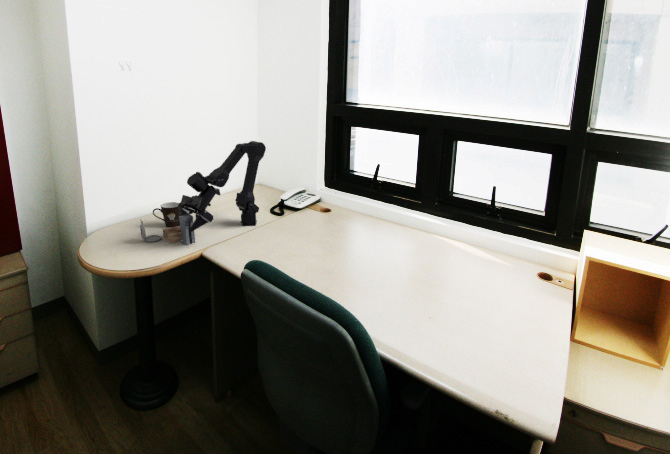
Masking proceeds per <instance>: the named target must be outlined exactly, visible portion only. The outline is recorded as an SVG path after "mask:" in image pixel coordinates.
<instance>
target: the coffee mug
mask: <svg viewBox="0 0 670 454" xmlns="http://www.w3.org/2000/svg"><path fill="white" fill-rule="evenodd" d="M179 203H180V202H176V201H170V202H169V201H168V202H165V203H162V204H160V208H154V209H153V210H152V215H154V217H155V218H157V219H159V220H161V221H163V222H164V226H165V228H171V227H177V226H178V225H177V224H178V221H179V216H180V210H179V208H180V207H178V204H179ZM157 210H158V211H160V212H161V214H162V217H163V218H162V217H159V216H158V215H156V214H155V211H157Z"/></svg>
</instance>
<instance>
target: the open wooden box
mask: <svg viewBox="0 0 670 454" xmlns="http://www.w3.org/2000/svg"><path fill="white" fill-rule="evenodd" d="M162 236H163V238H164V239H165V240H166V242H168V243H169V244H172V243H177V241H178V242H182V241H181V231H180V226H177V227H171V228H170V227H165V228H162Z"/></svg>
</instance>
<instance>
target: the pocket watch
mask: <svg viewBox="0 0 670 454" xmlns="http://www.w3.org/2000/svg"><path fill="white" fill-rule="evenodd" d="M139 219H140V218H139ZM139 225H140V226H139V228H140V235H141V239H142V240H144V241H145V242H147V243H153V242H157V241H160V240H161V238H162V237H161V235H159V234H151V235H147V234H146V230H145V229H146V228H145V225H144V221H142V219H140V224H139Z"/></svg>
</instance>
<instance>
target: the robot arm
mask: <svg viewBox="0 0 670 454" xmlns="http://www.w3.org/2000/svg"><path fill="white" fill-rule="evenodd" d="M266 149H267V148H266V145H265V144H264V143H263V142H260V141H256V140H250V141H249V142H243V143H237V144H236V145H235V147H234V149H233V150H232V151H231V152H230V154H229V155H228V156H227V157H226V158H225V160H223V162H222V164H221V165H220V166H218V167H217V168H215V169H213V170H212V171H211V172H210V173H209V174H208V175H206V176H203V173H201V172H200V171H196V172H195V173H193V174H191V175H190V176H189V177H188V178H187V180H186V183H187V185H188V186H190V187H191V189H193V190H194V191H196V192H197V193H199V194H198V195H197V194H196V195H192V196H189V195H185V194H182V197H181V200H180V202H178V203H179V204H178V207H180V208H179V210H180V216H182V215H185V214H189V215H192V214H195V219H194V220H193V225H192V226H191V228H190V231H191V232H192V231H194V232H195V231H196V230H197V229H199V228H200V227H202V226H204V225H207V224H209V223H212V222H213V220H214V215H213V214H211V213H210V212H209V211H208V210H206V209H208V207H211V206H212V204H211V202H212V200H213V199H214V197H215V196H221V190H220V188H223V187H225V185H226V184H227V183H228V181H229V178H230V174H231V172H232V171H233V170H234V169H235V167H236V166H237V165H238V163H239V161H240V160H241V159H242V158H243V157H244V156H245V154H246V155H247V156H246V157H247V159H248V161H247V166H246V171H245V176H244V180H243V186H242V190H241V191H240V192H237V193H236V198H235V200H234V201H235V204H236V207H237V208H238V210H239V211H241V214H240V223H241V226H247V227H248V226H251V227H252V226H253V227H254V226H256V225H257V222H258V220H257V213H259V210H260V207H259V206H258V205H257V204H256V203H255V200H256V199H255V194H254V190H255V189H254V188H255V183H256V178H257V173H258V169H259V164H260V162H261V160H262V159H263V158H264V156H265V153H266ZM216 187H217V188H216ZM177 225H178V226H180V221H178V224H177Z"/></svg>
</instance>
